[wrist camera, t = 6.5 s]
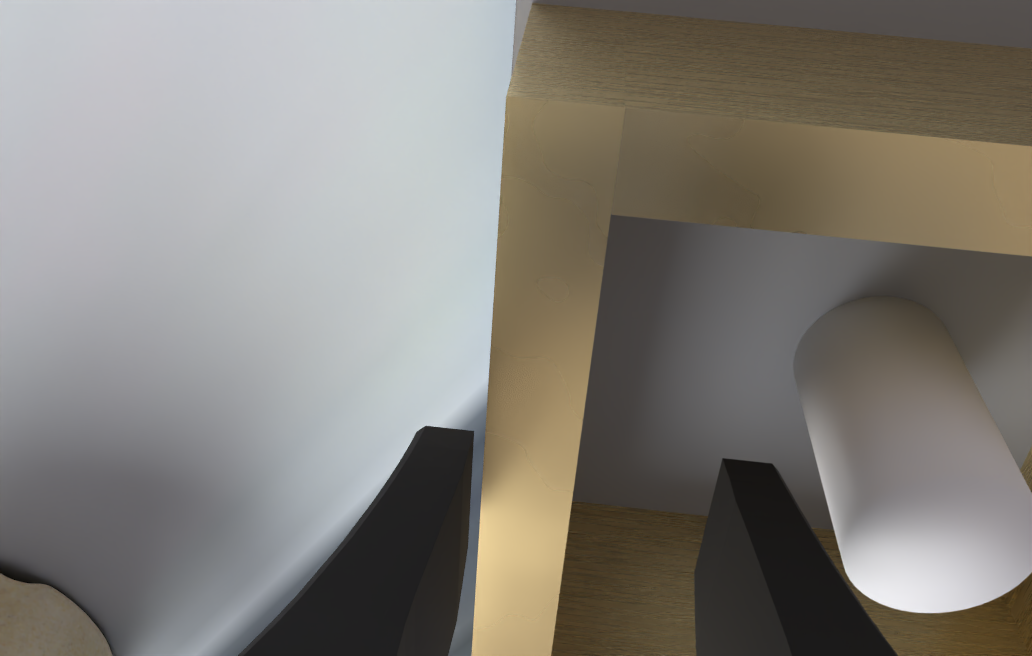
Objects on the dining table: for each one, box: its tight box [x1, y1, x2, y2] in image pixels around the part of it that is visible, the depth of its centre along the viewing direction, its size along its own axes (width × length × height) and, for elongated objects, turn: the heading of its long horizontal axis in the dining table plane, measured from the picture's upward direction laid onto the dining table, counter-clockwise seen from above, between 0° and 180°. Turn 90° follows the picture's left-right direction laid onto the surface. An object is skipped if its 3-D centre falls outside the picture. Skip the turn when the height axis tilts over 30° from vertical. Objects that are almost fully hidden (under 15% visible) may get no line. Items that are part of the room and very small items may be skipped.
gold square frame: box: [472, 3, 1032, 656], centre depth 14 cm, size 10×10×4 cm
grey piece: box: [511, 0, 1032, 613], centre depth 14 cm, size 14×12×6 cm
